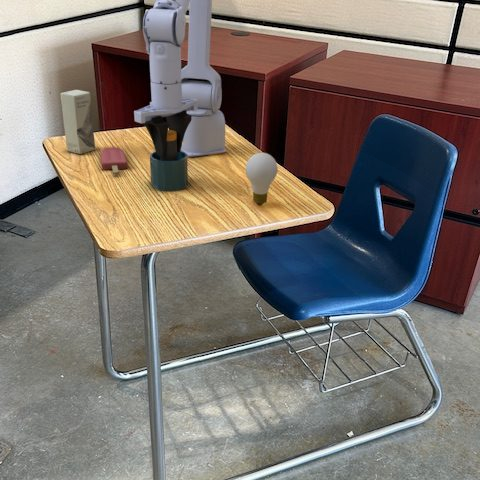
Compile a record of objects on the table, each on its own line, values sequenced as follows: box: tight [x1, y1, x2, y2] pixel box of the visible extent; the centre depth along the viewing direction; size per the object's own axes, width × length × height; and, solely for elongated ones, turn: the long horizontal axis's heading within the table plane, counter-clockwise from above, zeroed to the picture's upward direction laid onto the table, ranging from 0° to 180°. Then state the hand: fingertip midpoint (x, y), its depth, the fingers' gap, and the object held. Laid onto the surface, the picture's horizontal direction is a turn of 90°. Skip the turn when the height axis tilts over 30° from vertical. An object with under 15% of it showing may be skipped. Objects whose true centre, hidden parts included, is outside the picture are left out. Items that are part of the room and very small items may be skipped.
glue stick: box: [160, 129, 177, 161], centre depth 119 cm, size 3×3×6 cm
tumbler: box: [149, 150, 189, 192], centre depth 122 cm, size 7×7×6 cm
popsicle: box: [100, 146, 128, 175], centre depth 132 cm, size 5×2×15 cm
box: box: [60, 89, 96, 155], centre depth 136 cm, size 5×4×13 cm
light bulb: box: [245, 152, 278, 206], centre depth 113 cm, size 6×6×10 cm
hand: (168, 153), depth 120 cm, fingers closed on glue stick, 3 cm apart
